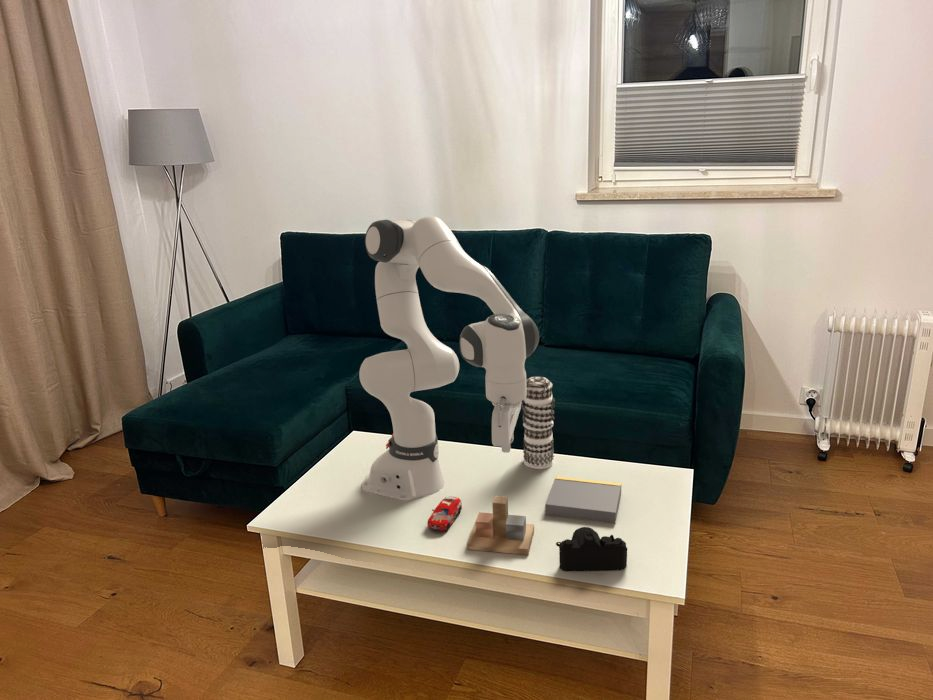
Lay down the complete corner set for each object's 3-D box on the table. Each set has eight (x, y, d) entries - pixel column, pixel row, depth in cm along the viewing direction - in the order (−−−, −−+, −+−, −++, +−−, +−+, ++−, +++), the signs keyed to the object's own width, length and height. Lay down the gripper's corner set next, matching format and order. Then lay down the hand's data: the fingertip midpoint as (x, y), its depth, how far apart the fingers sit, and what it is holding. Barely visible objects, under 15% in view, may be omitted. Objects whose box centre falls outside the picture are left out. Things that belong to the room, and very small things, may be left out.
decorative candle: (551, 471, 198) (551, 387, 190) (518, 467, 201) (516, 384, 193) (558, 456, 206) (558, 374, 198) (526, 452, 209) (525, 372, 201)
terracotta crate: (476, 536, 166) (475, 521, 165) (479, 526, 170) (479, 512, 168) (493, 538, 165) (492, 523, 164) (496, 528, 169) (495, 513, 168)
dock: (545, 514, 178) (545, 503, 177) (555, 486, 190) (555, 475, 189) (615, 523, 173) (615, 512, 172) (621, 493, 185) (621, 483, 184)
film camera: (620, 549, 163) (621, 514, 160) (628, 575, 154) (629, 539, 151) (553, 550, 164) (553, 516, 161) (557, 577, 155) (557, 541, 152)
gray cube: (506, 539, 165) (505, 524, 163) (509, 529, 168) (508, 514, 167) (523, 540, 164) (523, 525, 162) (526, 531, 167) (525, 516, 166)
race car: (445, 535, 170) (444, 520, 169) (424, 531, 172) (423, 516, 171) (465, 508, 182) (465, 494, 181) (445, 504, 184) (445, 490, 182)
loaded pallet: (467, 552, 165) (465, 509, 161) (476, 528, 174) (474, 486, 170) (528, 558, 161) (527, 514, 158) (534, 533, 171) (533, 490, 167)
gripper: (513, 409, 146) (515, 469, 151) (526, 372, 165) (527, 427, 169) (483, 407, 147) (485, 467, 152) (499, 371, 166) (500, 426, 171)
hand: (507, 446), depth 161 cm, fingers open, 3 cm apart
